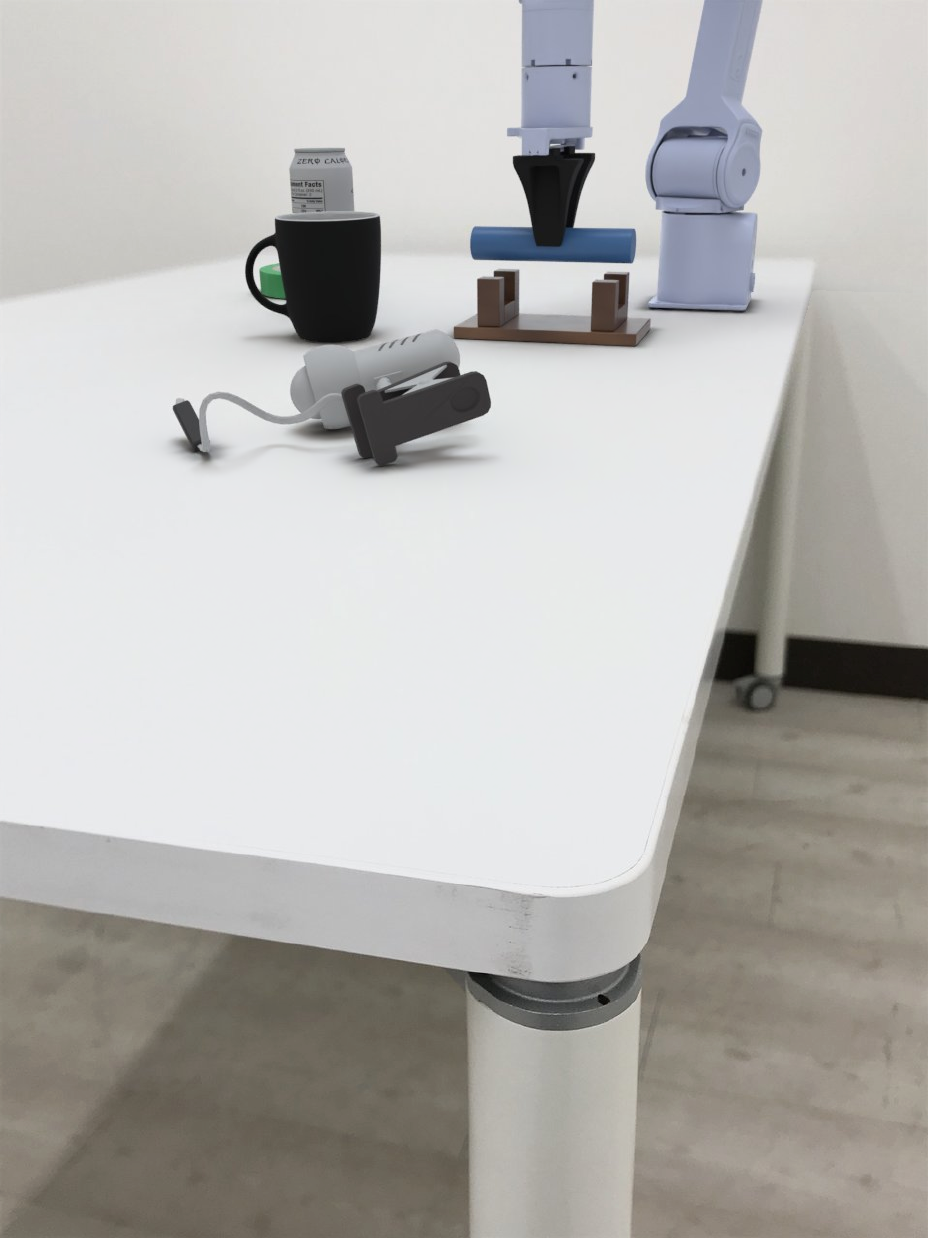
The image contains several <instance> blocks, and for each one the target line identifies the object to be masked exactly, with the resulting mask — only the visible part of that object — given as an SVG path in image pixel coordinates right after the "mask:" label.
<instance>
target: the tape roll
mask: <svg viewBox="0 0 928 1238" xmlns="http://www.w3.org/2000/svg"><path fill="white" fill-rule="evenodd" d="M258 273H259V282H260V292H261V293H262V295H263V296H265V297H269V298H275V299H283V300H286V298H285V293H284V288H283V282H282V276H281V271H280V264H279V262H278V263H271V264H267V265H264V266H262V267H260V268H259V272H258Z"/></svg>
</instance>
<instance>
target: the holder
mask: <svg viewBox="0 0 928 1238" xmlns="http://www.w3.org/2000/svg"><path fill="white" fill-rule="evenodd" d="M630 275H631V274H630V272H629V271H606V272H605V273H603V279H595V280H593V281H592V282H591V306H590V307H591V308H590V309H591V310H590V315H572V314H571V315H569V314H545V313H543V314H542V313H541V314H539V313H520V269H519V268H498V269H495V270H493V276H486V275H485V276H483V275H482V276H481V277H480V276H479V278H477V279H476V289H477V290H476V299H477V300H476V303H477V304H476V305H477V306H476V307H477V308H476V309H477V310H476V311H477V313H476V314H474V315H472V316H471V317H469V318H467V319H465V320H464V321H463V320H462V321H461V322H459V323H458V324H456V325H455V326H453V338H454V339H463V340H464V339H465V340H485V341H487V340H488V341H511V342H532V343H533V342H535V343H555V344H560V343H561V344H575V345H576V344H578V345H579V344H581V345H602V346H603V345H604V346H623V347H628V346H629V347H636V346H637V345H638V344H639V343H640V342H641V341H642V339H643V338H644V337H645V336H646V335H647V334H648V332H650V330H651V323H652V319H651V318H649V317H628V314H629V313H628V312H629V294H630Z"/></svg>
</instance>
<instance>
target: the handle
mask: <svg viewBox="0 0 928 1238" xmlns="http://www.w3.org/2000/svg"><path fill="white" fill-rule="evenodd" d="M471 229H472V230H471V231H470V239H469V241H470V242H469V249H470V255H471V258H472V260H474V261H502V262H505V261H507V262H508V261H509V262H543V263H544V262H547V263H548V262H549V263H550V262H551V263H553V262H554V263H588V264H589V263H591V264H592V263H593V264H594V263H595V264H630V265H631V264H633V263H634V262H635V258H636V251H637V233H636V232H637V231H636V229H635V228H630V227H629V228H628V227H627V228H623V227H622V228H620V227H618V228H617V227H574V228H565V234H564V238H563V241H562V244H561V246H560V247H545V246H536V243H535V239H534V235H533V230H532V226H487V225H486V226H485V225H484V226H482V225H479V226H478V225H477V226H476V225H475V226H473V227H472V228H471Z"/></svg>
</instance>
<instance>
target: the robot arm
mask: <svg viewBox="0 0 928 1238" xmlns="http://www.w3.org/2000/svg"><path fill="white" fill-rule="evenodd" d="M763 1H764V0H704V1H703V6H702V10H701V16H700V21H699V28H698V31H697V36H696V40H695V41H696V42H695V48H694V52H693V57H692V61H691V67H690V73H689V77H688V84H687V89H686V93H685V97H684V98H683V99H682V100H681V101H680V102H679V103H678V104H677V105H675V106H674V107H673V108H672V109H671V110H669V112H667V113H666V114H665V115H664V116H663V117H662V118H661V119H660V121H659V127H658V132H657V135H656V139H655V141H654V143H653V145H652V147H651V148H650V151H649V153H648V155H647V159H646V162H645V168H644V179H645V186H646V189H647V192H648V194H649V196H650V197H651V199H652V200H653V201H654V202H655V210H658V211H661V220H660V237H659V252H658V253H659V254H658V256H659V257H658V269H657V270H658V272H657V273H658V274H657V286H656V287H657V288H656V294H655V295H654V296H653V297H652V298H651V299H650V300H649V301H648V302H647V307H648V308H654V309H655V308H657V309H659V308H660V309H683V310H685V309H689V310H717V311H719V310H721V311H746V310H747V308H748V307H749V304H750V302H751V300H752V293H753V292H754V290H755V283H756V273H755V272H754V269H755V268H754V267H755V258H756V257H755V256H756V248H757V247H756V246H757V233H758V213H756V212H751V211H750V212H747V211H746V212H745V211H744V209H745V205H746V204H747V203H748V202H749V201H750V199H751V198H752V196H753V195H754V193H755V191H756V190H757V187H758V184H759V180H760V175H761V156H760V155H761V140H762V136H763V129H762V127H761V125H760V124H759V123H758V121H757V119H756V118H754V116H753V115H752V114H751V113H750V112H749V111H748V110H747V108H746V107H745V106H744V105H743V104H742V103H743V99H744V94H745V89H746V84H747V80H748V74H749V70H750V66H751V65H750V64H751V60H752V54H753V50H754V45H755V41H756V36H757V30H758V25H759V21H760V16H761V12H762V8H763V7H762V6H763ZM518 3H519V4H521V84H520V85H521V87H520V89H521V91H520V127H519V126H517V127H507V128H506V136H507V137H517V138H519V139H521V154H520V155H519V154H518V155H513V156H512V165H513V166H512V167H513V169H514V171H515V173H516V175H517V177H518V179H519V181H520V183H521V186H522V189H523V193H524V195H525V199H526V202H527V207H528V213H529V217H530V225H531V227H532V230H533V235H534V239H535V243H536V246H545V247H560V246H561V244H562V241H563V238H564V234H565V228H575V222H576V217H577V212H578V208H579V203H580V200H581V196H582V192H583V189H584V186H585V183H586V180H587V178H588V176H589V174H590V172H591V169H592V168H593V165H594V163H595V161H596V153H595V152H576V151H582V150H585V145H586V144H585V143H586V139H588V138H589V139H591V138H592V137H593V133H594V131H593V128H594V127H593V126H591V118H592V117H591V116H592V113H591V112H592V87H593V85H592V84H593V83H592V82H593V81H592V80H593V46H594V18H595V0H518ZM741 211H743V212H741Z"/></svg>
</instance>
